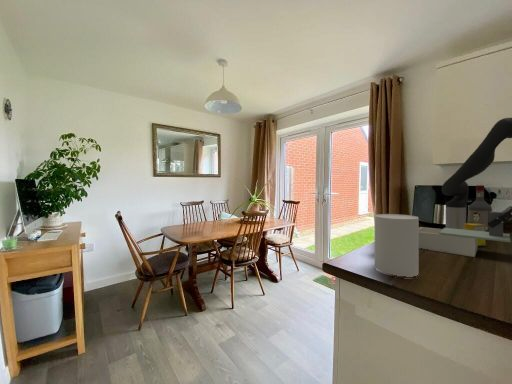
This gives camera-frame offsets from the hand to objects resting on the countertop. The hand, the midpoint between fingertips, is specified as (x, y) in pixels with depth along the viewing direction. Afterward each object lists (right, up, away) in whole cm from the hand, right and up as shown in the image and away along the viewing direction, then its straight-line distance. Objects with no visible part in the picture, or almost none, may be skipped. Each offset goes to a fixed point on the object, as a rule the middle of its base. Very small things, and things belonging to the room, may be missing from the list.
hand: (489, 225), depth 97 cm
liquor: (+40, -12, +44) cm, 61 cm away
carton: (-10, -13, +12) cm, 20 cm away
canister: (-51, -15, -15) cm, 55 cm away
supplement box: (+9, -13, +16) cm, 22 cm away
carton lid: (-3, -5, +4) cm, 7 cm away
